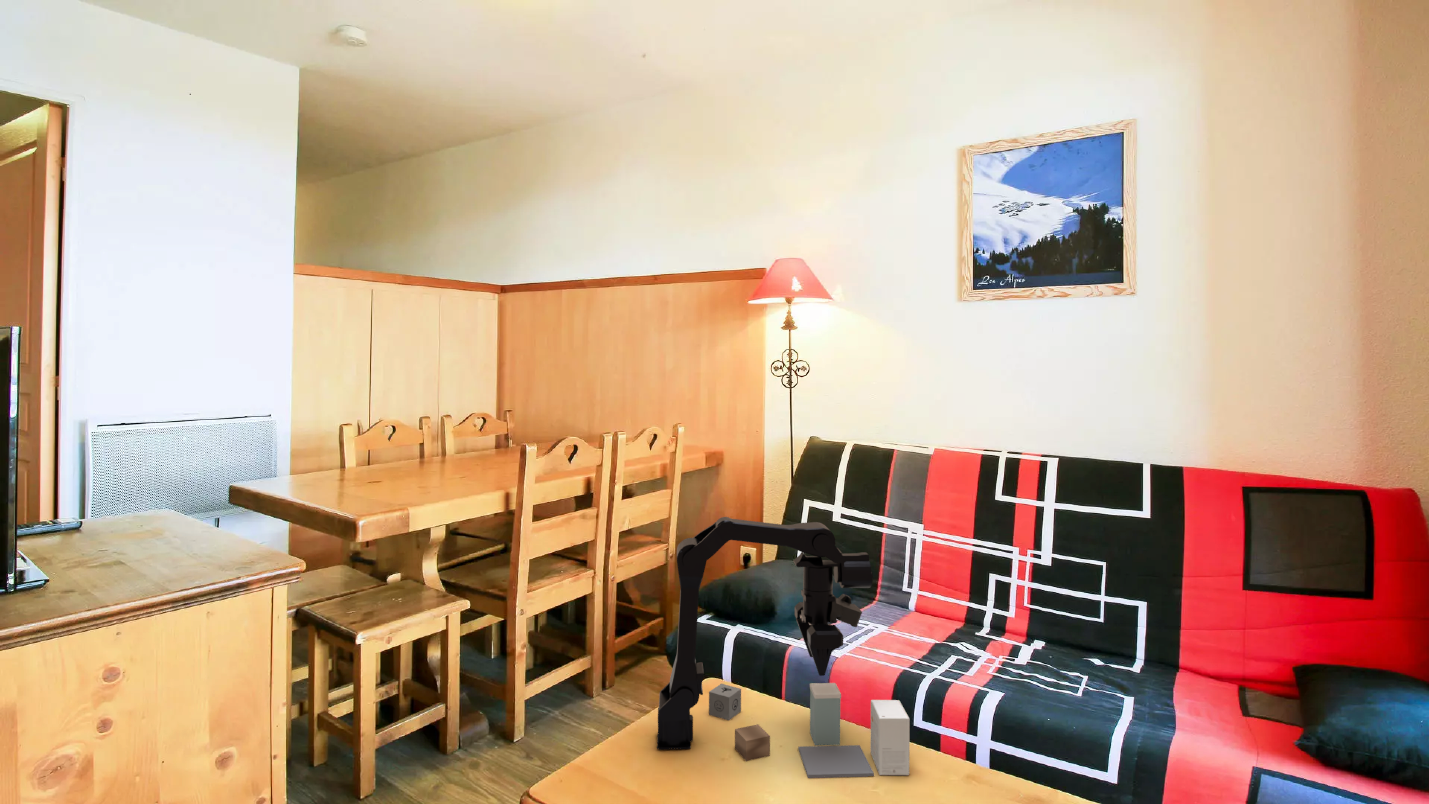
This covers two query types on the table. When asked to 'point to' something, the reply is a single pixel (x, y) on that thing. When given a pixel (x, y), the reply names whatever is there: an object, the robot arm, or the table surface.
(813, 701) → the tea tin
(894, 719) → the small box
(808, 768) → the felt coaster
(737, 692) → the dice cube
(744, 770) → the table surface
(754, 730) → the walnut block
